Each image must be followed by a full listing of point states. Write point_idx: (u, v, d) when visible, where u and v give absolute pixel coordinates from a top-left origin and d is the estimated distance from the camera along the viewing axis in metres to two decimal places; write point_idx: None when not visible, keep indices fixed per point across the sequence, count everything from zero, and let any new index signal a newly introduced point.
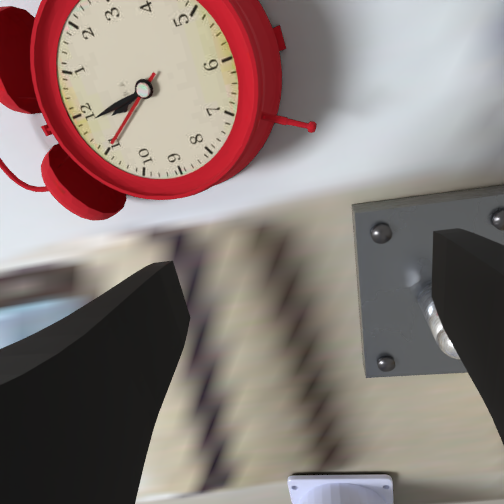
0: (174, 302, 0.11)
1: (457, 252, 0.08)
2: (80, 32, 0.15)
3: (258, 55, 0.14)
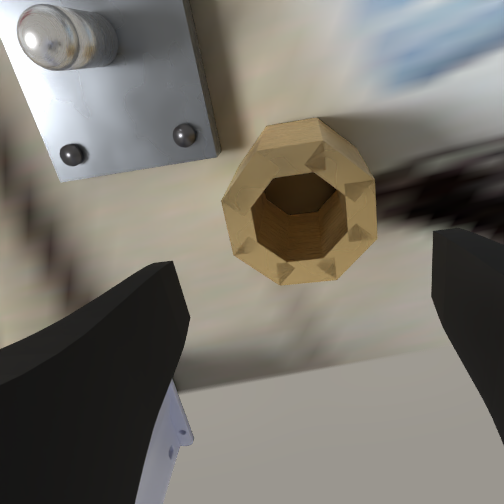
0: (174, 302, 0.11)
1: (457, 251, 0.08)
2: None
3: None
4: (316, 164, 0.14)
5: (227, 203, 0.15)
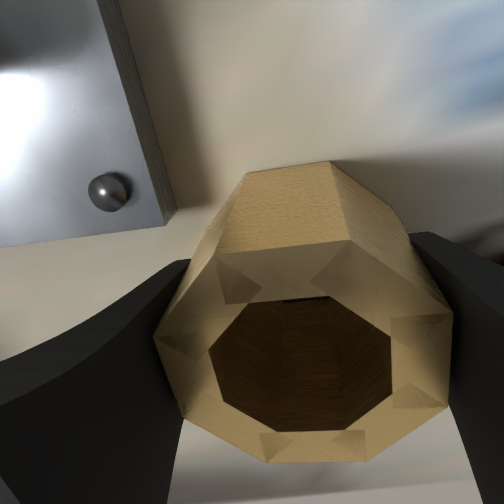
0: None
1: (422, 255, 0.09)
2: None
3: None
4: (335, 283, 0.07)
5: (163, 341, 0.08)
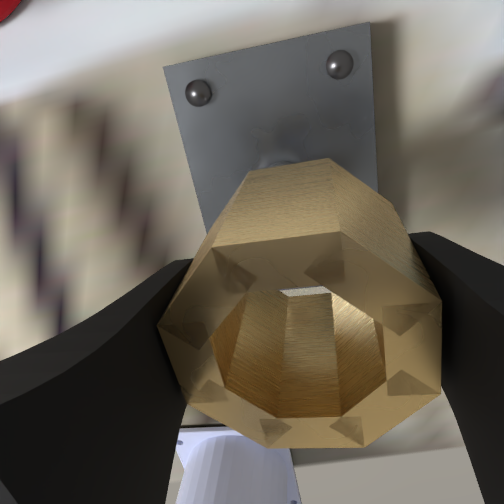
0: None
1: (423, 254, 0.09)
2: None
3: None
4: (327, 273, 0.07)
5: (167, 329, 0.08)
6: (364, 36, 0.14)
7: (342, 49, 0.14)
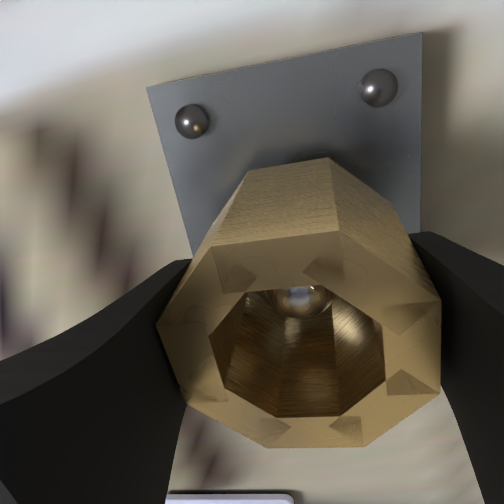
0: None
1: (423, 255, 0.09)
2: None
3: None
4: (326, 272, 0.07)
5: (166, 329, 0.08)
6: (413, 51, 0.11)
7: (383, 68, 0.11)
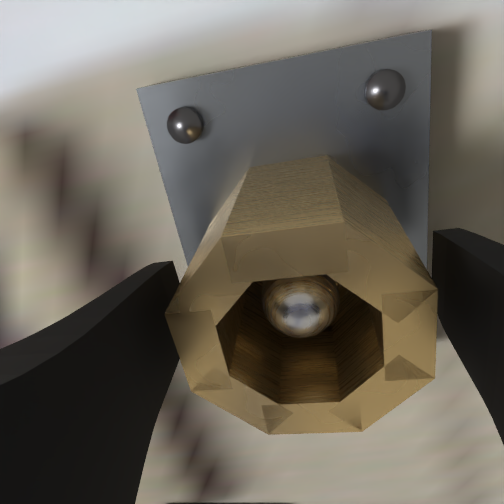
0: None
1: (456, 251, 0.08)
2: None
3: None
4: (331, 262, 0.07)
5: (174, 318, 0.08)
6: (422, 50, 0.10)
7: (390, 68, 0.10)
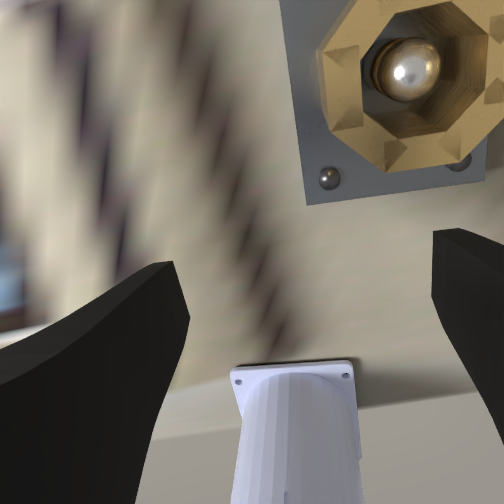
0: (174, 302, 0.11)
1: (457, 251, 0.08)
2: None
3: None
4: None
5: (329, 55, 0.11)
6: None
7: None
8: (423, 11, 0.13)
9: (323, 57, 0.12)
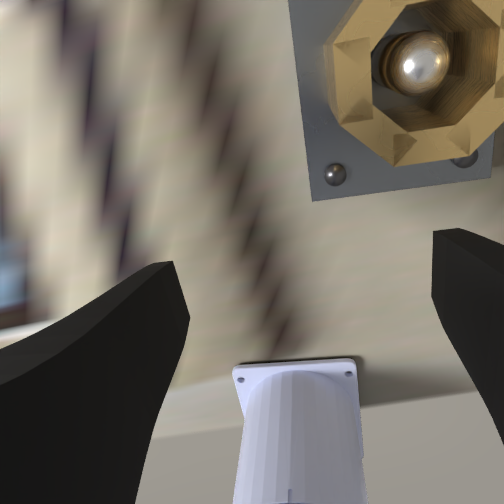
0: (174, 302, 0.11)
1: (457, 251, 0.08)
2: None
3: None
4: None
5: (339, 47, 0.11)
6: None
7: None
8: (432, 5, 0.13)
9: (333, 49, 0.12)
